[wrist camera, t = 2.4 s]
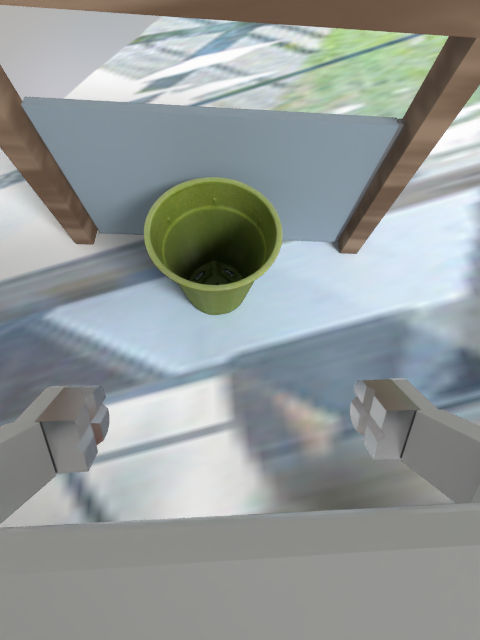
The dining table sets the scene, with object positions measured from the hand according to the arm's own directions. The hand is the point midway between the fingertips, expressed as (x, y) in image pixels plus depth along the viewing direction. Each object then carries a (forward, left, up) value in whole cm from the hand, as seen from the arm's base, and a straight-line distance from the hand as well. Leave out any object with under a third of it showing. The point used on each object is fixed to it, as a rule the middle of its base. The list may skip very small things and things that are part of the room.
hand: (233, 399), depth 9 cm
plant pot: (+9, +13, -22) cm, 26 cm away
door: (+14, +19, -20) cm, 31 cm away
